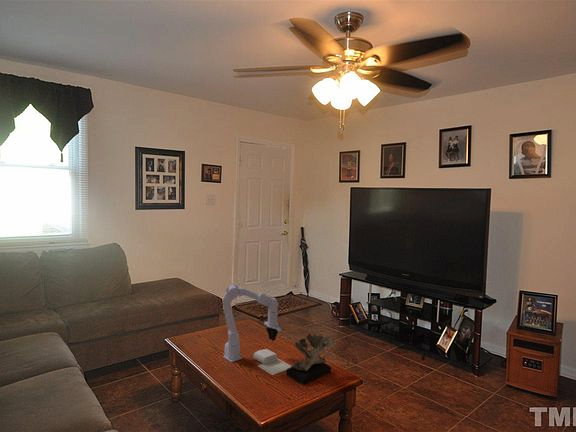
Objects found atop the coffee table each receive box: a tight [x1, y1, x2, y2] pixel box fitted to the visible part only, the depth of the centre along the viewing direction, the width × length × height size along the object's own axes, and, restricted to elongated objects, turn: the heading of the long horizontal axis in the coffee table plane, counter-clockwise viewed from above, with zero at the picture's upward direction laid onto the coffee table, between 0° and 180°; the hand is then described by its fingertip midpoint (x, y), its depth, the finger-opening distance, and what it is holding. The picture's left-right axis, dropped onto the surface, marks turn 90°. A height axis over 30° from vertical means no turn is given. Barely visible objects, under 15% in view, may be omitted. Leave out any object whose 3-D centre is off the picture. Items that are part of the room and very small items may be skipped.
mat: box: [257, 358, 293, 376], centre depth 216 cm, size 14×15×1 cm
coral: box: [285, 333, 335, 386], centre depth 207 cm, size 25×20×22 cm
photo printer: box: [253, 348, 279, 364], centre depth 225 cm, size 10×4×12 cm
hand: (272, 339), depth 229 cm, fingers closed
